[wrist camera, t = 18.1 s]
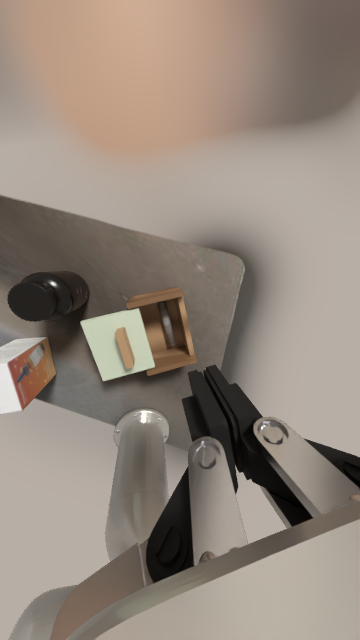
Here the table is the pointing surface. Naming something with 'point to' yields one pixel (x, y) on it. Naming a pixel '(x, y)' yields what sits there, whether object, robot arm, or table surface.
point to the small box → (24, 372)
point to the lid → (119, 343)
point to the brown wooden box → (165, 328)
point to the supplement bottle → (48, 296)
